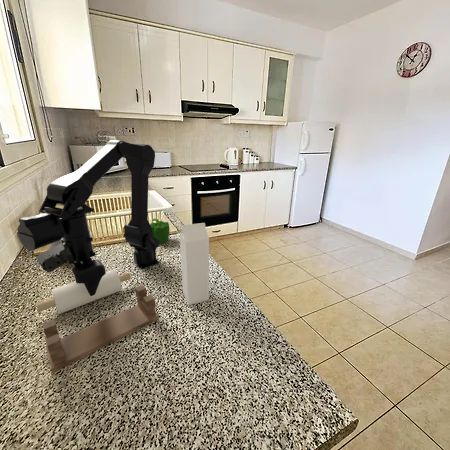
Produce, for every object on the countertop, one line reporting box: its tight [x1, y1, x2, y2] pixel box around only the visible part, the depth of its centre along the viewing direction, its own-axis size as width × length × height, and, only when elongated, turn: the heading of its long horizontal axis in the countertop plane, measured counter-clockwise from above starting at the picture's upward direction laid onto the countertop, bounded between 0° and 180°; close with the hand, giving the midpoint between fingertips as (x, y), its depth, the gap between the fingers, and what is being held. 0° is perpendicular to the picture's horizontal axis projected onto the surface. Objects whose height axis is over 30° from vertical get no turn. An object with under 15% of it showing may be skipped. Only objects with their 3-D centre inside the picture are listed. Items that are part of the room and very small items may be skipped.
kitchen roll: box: [36, 268, 132, 315], centre depth 64 cm, size 22×6×6 cm, turn 131°
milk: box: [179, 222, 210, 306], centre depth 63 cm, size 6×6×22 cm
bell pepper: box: [150, 217, 171, 244], centre depth 98 cm, size 8×8×10 cm
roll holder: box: [41, 284, 160, 374], centre depth 53 cm, size 22×7×6 cm, turn 131°
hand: (88, 286), depth 64 cm, fingers open, 9 cm apart
